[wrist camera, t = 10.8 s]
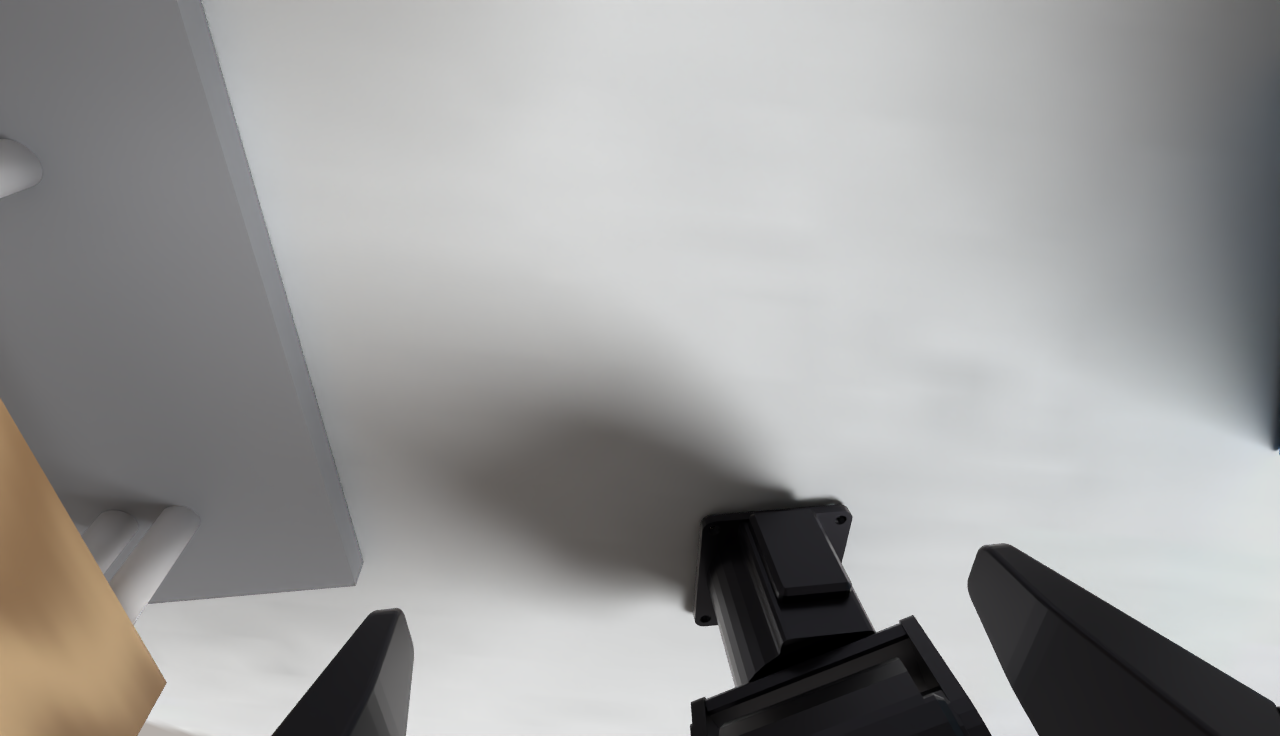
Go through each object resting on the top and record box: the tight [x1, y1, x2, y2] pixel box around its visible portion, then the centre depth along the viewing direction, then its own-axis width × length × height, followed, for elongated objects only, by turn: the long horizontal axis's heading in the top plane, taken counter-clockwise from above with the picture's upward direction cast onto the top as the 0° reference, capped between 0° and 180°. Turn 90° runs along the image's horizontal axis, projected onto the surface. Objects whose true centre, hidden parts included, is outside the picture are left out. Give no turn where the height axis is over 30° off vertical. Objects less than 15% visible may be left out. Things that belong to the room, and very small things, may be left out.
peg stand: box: [0, 0, 363, 625], centre depth 17 cm, size 20×12×6 cm, turn 179°
